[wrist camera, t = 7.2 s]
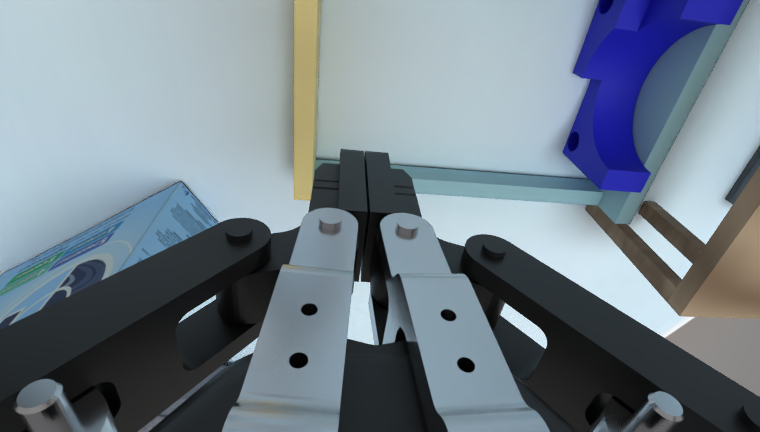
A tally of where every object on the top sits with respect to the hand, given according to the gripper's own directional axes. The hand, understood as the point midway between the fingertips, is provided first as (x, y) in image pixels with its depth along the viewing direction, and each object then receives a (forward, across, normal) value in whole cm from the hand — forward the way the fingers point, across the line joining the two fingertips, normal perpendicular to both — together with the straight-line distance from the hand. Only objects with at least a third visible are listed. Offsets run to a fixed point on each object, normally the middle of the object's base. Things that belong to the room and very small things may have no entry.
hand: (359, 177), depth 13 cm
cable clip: (+18, -18, 0) cm, 25 cm away
